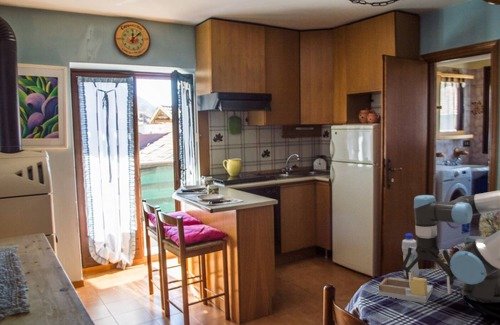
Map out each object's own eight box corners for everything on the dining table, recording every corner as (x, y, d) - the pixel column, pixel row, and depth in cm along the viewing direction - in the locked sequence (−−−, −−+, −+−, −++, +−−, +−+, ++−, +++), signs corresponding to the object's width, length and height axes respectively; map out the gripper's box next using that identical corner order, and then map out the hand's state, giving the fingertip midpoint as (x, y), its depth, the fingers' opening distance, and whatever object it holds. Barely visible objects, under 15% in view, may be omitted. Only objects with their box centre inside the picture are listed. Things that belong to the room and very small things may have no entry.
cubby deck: (433, 290, 161) (432, 279, 161) (426, 303, 150) (425, 291, 150) (388, 284, 172) (387, 274, 172) (378, 295, 160) (377, 284, 160)
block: (427, 291, 156) (426, 278, 156) (424, 295, 152) (424, 283, 152) (414, 289, 159) (413, 277, 159) (411, 293, 155) (410, 281, 155)
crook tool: (409, 283, 166) (408, 279, 166) (406, 286, 163) (406, 282, 163) (389, 280, 170) (389, 277, 170) (387, 283, 167) (386, 279, 167)
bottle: (400, 276, 180) (397, 233, 179) (412, 274, 182) (410, 230, 181) (410, 281, 173) (407, 235, 172) (423, 278, 175) (420, 233, 174)
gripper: (464, 235, 148) (467, 291, 149) (395, 231, 162) (399, 282, 163) (461, 240, 142) (465, 298, 143) (390, 236, 156) (394, 288, 157)
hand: (429, 290), depth 153 cm, fingers open, 13 cm apart
